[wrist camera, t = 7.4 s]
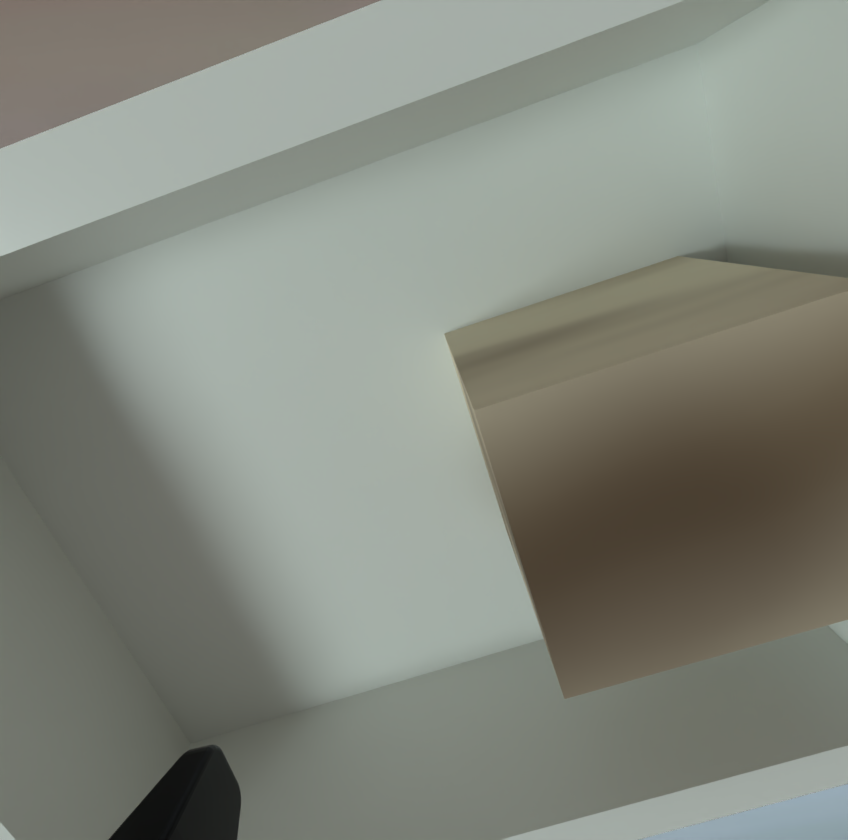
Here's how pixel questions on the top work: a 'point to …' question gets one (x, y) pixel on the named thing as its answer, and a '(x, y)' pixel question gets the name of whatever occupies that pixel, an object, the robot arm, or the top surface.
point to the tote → (377, 419)
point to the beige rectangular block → (669, 461)
